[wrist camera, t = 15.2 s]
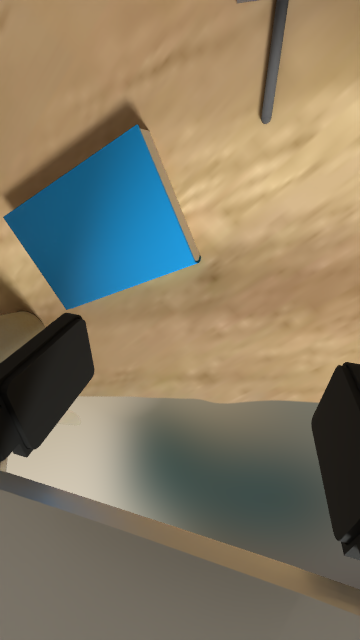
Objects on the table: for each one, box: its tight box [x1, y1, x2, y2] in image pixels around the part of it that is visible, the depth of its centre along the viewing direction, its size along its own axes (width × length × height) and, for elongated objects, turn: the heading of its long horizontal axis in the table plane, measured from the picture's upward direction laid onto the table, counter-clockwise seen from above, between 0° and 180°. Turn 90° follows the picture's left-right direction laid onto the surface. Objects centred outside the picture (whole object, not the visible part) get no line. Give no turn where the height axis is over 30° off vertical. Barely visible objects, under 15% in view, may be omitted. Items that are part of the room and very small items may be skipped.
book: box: [3, 125, 201, 310], centre depth 38 cm, size 17×4×25 cm
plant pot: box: [0, 311, 45, 363], centre depth 48 cm, size 15×15×16 cm
